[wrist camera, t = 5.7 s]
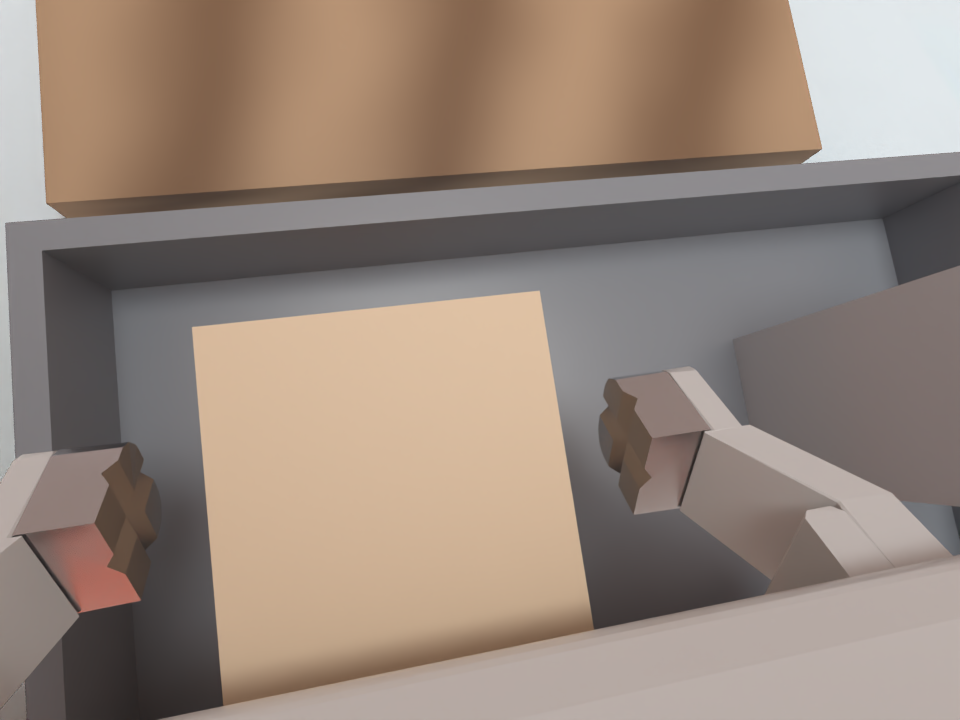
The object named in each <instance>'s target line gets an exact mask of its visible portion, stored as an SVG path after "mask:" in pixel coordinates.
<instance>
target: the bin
mask: <svg viewBox="0 0 960 720" xmlns="http://www.w3.org/2000/svg"><path fill="white" fill-rule="evenodd" d="M5 228H6V251H7V274H8V297H9V320H10V343H11V366H12V389H13V412H14V435H15V458H16V459H17V458H18V457H20V456H21V455H23V454H31V453H40V452H49V451H58V450H62V449H71V448H79V447H88V446H97V445H106V444H115V443H124V442H130V443H133V444H136V445H137V447H138V449H139V451H140V453H141V455H142V456H143V458H144V461H143V465H142V468H141V471H140V472H141V473H143V474H145V475H147V476H149V477H150V478H152V479H154V481H155V484H156V486H157V488H158V490H159V495H160V499H161V503H162V516H161V526H160V530H159V534H158V538H157V539H156V540H155V541H154V542H153V543H152V544H151V545H150V546H149V547H148V548H147V549H146V550H145V551H146V553H147V555H148V557H149V559H150V561H151V565H150V569H149V573H148V577H147V580H146V584H145V588H144V591H143V595H142V599H141V601H136V602H131V603H126V604H121V605H116V606H111V607H106V608H101V609H96V610H91V611H86V612H81V613H78V614H79V617H78V619H77V620H76V621H75V622H74V623H73V624H72V626H71V627H70V628H69V629H68V630H67V632H66V633H65V634H64V635H63V636H62V637H61V639H60V640H59V641H58V642H57V643H56V644H55V646H54V647H53V648H52V649H51V650H50V652H49V653H48V654H47V655H46V656H45V657H44V659H43V660H42V661H41V662H40V663H39V664H38V666H37V667H36V668H35V669H34V670H33V672H32V673H31V674H30V675H29V676H28V677H27V679H26V680H25V689H26V712H27V720H158V719H163V718H168V717H173V716H178V715H183V714H188V713H192V712H197V711H202V710H207V709H212V708H217V707H222V706H223V695H222V683H221V671H220V659H219V647H218V635H217V623H216V611H215V599H214V587H213V575H212V563H211V551H210V539H209V527H208V515H207V503H206V491H205V479H204V467H203V455H202V443H201V431H200V419H199V407H198V395H197V383H196V371H195V359H194V346H193V334H192V327H198V326H208V325H217V324H227V323H236V322H246V321H255V320H265V319H274V318H284V317H293V316H303V315H312V314H322V313H331V312H341V311H350V310H360V309H369V308H379V307H388V306H398V305H407V304H417V303H426V302H436V301H446V300H455V299H465V298H474V297H484V296H493V295H503V294H512V293H522V292H531V291H540V296H541V302H542V309H543V315H544V321H545V327H546V333H547V340H548V346H549V352H550V358H551V365H552V371H553V377H554V383H555V390H556V396H557V402H558V408H559V415H560V421H561V427H562V433H563V440H564V446H565V452H566V458H567V465H568V471H569V477H570V483H571V489H572V496H573V502H574V508H575V514H576V521H577V527H578V533H579V539H580V546H581V552H582V558H583V564H584V571H585V577H586V583H587V589H588V596H589V602H590V608H591V614H592V621H593V627H594V630H596V629H600V628H605V627H610V626H615V625H620V624H625V623H630V622H634V621H639V620H644V619H649V618H654V617H659V616H663V615H668V614H673V613H678V612H683V611H688V610H693V609H697V608H702V607H707V606H712V605H717V604H722V603H727V602H732V601H736V600H741V599H746V598H751V597H756V596H761V595H764V594H765V592H766V590H767V588H768V586H769V584H770V582H771V579H769V578H768V577H767V576H765V575H764V574H763V573H761V572H760V571H759V570H757V569H756V568H755V567H753V566H752V565H751V564H749V563H748V562H747V561H745V560H744V559H743V558H742V557H740V556H739V555H738V554H736V553H735V552H734V551H732V550H731V549H730V548H728V547H727V546H726V545H724V544H723V543H722V542H720V541H719V540H718V539H717V538H715V537H714V536H713V535H711V534H710V533H709V532H707V531H706V530H705V529H703V528H702V527H701V526H699V525H698V524H697V523H695V522H694V521H693V520H692V519H690V518H689V517H688V516H686V515H685V514H684V513H682V512H681V511H680V508H677V509H671V510H664V511H657V512H650V513H643V514H636V515H633V513H632V511H631V509H630V507H629V505H628V503H627V502H626V500H625V498H624V496H623V494H622V492H621V490H620V488H619V486H618V483H619V478H620V473H618V472H617V471H615V470H614V469H612V468H610V467H609V466H608V465H607V463H606V460H605V458H604V456H603V454H602V451H601V447H600V444H599V435H598V425H599V417H600V414H601V413H602V412H603V411H604V410H605V409H606V408H607V407H608V404H607V403H606V401H605V399H604V397H603V393H604V387H605V384H606V382H607V380H608V379H609V378H614V377H622V376H629V375H636V374H643V373H650V372H657V371H662V370H667V369H674V368H681V367H687V366H690V367H692V368H694V369H695V370H696V371H697V372H698V373H699V374H700V375H701V377H702V378H703V379H704V380H705V381H706V383H707V384H708V385H709V386H710V388H711V389H712V390H713V391H714V392H715V394H716V395H717V396H718V397H719V399H720V400H721V401H722V402H723V403H724V405H725V406H726V407H727V408H728V410H729V411H730V412H731V413H732V414H733V416H734V417H735V418H736V419H737V421H738V422H739V423H740V424H741V425H742V426H745V425H750V424H749V419H748V414H747V409H746V404H745V399H744V394H743V389H742V384H741V379H740V374H739V369H738V364H737V359H736V354H735V349H734V344H733V339H736V338H739V337H742V336H745V335H748V334H751V333H754V332H757V331H760V330H763V329H766V328H770V327H773V326H776V325H779V324H782V323H785V322H788V321H791V320H794V319H797V318H800V317H803V316H806V315H809V314H813V313H816V312H819V311H822V310H825V309H828V308H831V307H834V306H837V305H840V304H843V303H846V302H849V301H852V300H856V299H859V298H862V297H865V296H868V295H871V294H874V293H877V292H880V291H883V290H886V289H889V288H892V287H895V286H899V285H902V284H905V283H908V282H911V281H914V280H917V279H920V278H923V277H926V276H929V275H932V274H935V273H938V272H942V271H945V270H948V269H951V268H954V267H957V266H960V152H953V153H940V154H926V155H913V156H899V157H886V158H872V159H859V160H845V161H832V162H818V163H805V164H791V165H778V166H765V167H751V168H738V169H724V170H711V171H697V172H684V173H670V174H657V175H643V176H630V177H616V178H603V179H590V180H576V181H563V182H549V183H536V184H522V185H509V186H495V187H482V188H468V189H455V190H441V191H428V192H414V193H401V194H388V195H374V196H361V197H347V198H334V199H320V200H307V201H293V202H280V203H266V204H253V205H239V206H226V207H213V208H199V209H186V210H172V211H159V212H145V213H132V214H118V215H105V216H91V217H78V218H64V219H51V220H37V221H24V222H11V223H5ZM900 502H901V503H902V504H903V505H904V506H905V507H906V508H907V509H908V510H909V511H910V512H911V513H912V514H913V515H914V516H915V517H916V518H917V519H918V520H919V521H920V522H921V523H922V525H923V526H924V527H925V528H926V529H927V530H928V531H929V532H930V533H931V534H932V535H933V536H934V537H935V538H936V539H937V540H938V541H939V542H940V543H941V544H942V545H943V546H944V547H945V548H946V549H947V550H948V551H949V552H950V553H951V554H952V555H953V556H955V555H960V507H958V506H947V505H937V504H927V503H917V502H906V501H900Z"/></svg>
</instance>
